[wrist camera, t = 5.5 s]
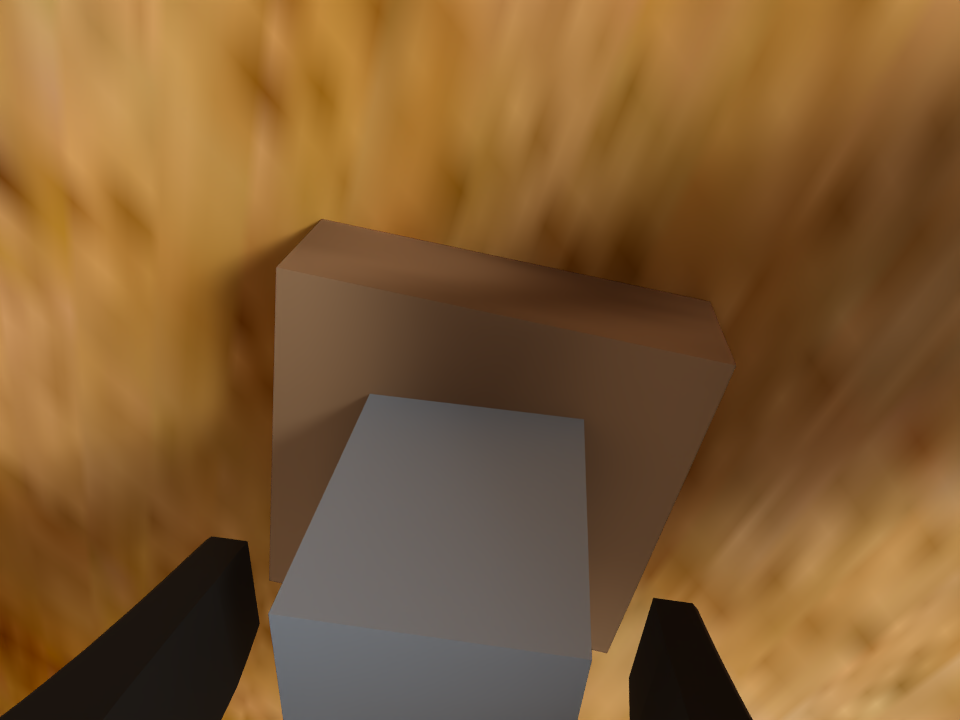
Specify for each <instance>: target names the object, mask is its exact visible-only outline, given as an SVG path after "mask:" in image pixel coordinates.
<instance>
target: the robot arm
mask: <svg viewBox="0 0 960 720" xmlns="http://www.w3.org/2000/svg"><path fill="white" fill-rule="evenodd" d="M259 624H260V623H259V616H258V609H257V603H256V596H255V589H254V582H253V575H252V569H251V562H250V555H249V548H248V541H241V540H233V539H226V538H219V537H210V538H209V539H207V540H206V541H205V542H204V543H203V544H202V545H200V546H199V547H198V548H197V549H196V550H195V551H194V552H193V553H192V554H191V555H190V556H189V557H187V558H186V559H185V560H184V561H183V562H182V563H181V564H180V565H179V566H178V567H177V568H176V569H175V570H174V571H172V572H171V573H170V574H169V575H168V576H167V577H166V578H165V579H164V580H163V581H162V582H161V583H159V584H158V585H157V586H156V587H155V588H154V589H153V590H152V591H151V592H150V593H149V594H147V595H146V596H145V597H144V598H143V599H142V600H141V601H140V602H139V603H138V604H136V605H135V606H134V607H133V608H132V609H131V610H130V611H129V612H127V613H126V614H125V615H124V616H123V617H122V618H121V619H119V620H118V621H117V622H116V623H115V624H114V625H113V626H111V627H110V628H109V629H108V630H107V631H106V632H105V633H103V634H102V635H101V636H100V637H99V638H98V639H97V640H95V641H94V642H93V643H92V644H91V645H90V646H88V647H87V648H86V649H85V650H84V651H82V652H81V653H80V654H79V655H78V656H76V657H75V658H74V659H73V660H72V661H70V662H69V663H68V664H67V665H65V666H64V667H63V668H62V669H60V670H59V671H58V672H57V673H55V674H54V675H53V676H52V677H51V678H49V679H48V680H47V681H46V682H44V683H43V684H42V685H41V686H39V687H38V688H37V689H36V690H35V691H33V692H32V693H31V694H30V695H28V696H27V697H26V698H24V699H23V700H22V701H21V702H19V703H18V704H17V705H15V706H14V707H13V708H11V709H10V710H9V711H8V712H6V713H5V714H4V715H2V716H1V717H0V720H221V719H222V717H223V715H224V713H225V711H226V709H227V707H228V705H229V703H230V701H231V698H232V696H233V694H234V692H235V690H236V688H237V686H238V683H239V680H240V678H241V675H242V672H243V669H244V667H245V664H246V661H247V659H248V656H249V653H250V650H251V647H252V644H253V641H254V639H255V636H256V633H257V630H258V627H259ZM629 706H630V720H753V719H752V718H751V716H750V714H749V712H748V710H747V708H746V707H745V705H744V703H743V701H742V699H741V697H740V695H739V693H738V692H737V690H736V688H735V686H734V684H733V682H732V680H731V678H730V676H729V674H728V672H727V670H726V668H725V666H724V664H723V662H722V660H721V658H720V656H719V654H718V652H717V650H716V648H715V646H714V644H713V642H712V639H711V637H710V635H709V633H708V631H707V629H706V627H705V625H704V622H703V620H702V618H701V616H700V614H699V611H698V609H697V608H696V607H695V606H694V605H693V603H686V602H679V601H672V600H665V599H657V598H653V601H652V604H651V607H650V611H649V614H648V617H647V620H646V624H645V627H644V630H643V634H642V637H641V640H640V643H639V647H638V650H637V653H636V656H635V660H634V663H633V666H632V670H631V673H630V676H629Z"/></svg>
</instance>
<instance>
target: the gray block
mask: <svg viewBox="0 0 960 720" xmlns="http://www.w3.org/2000/svg"><path fill="white" fill-rule="evenodd" d="M268 615H269V622H270V629H271V636H272V643H273V650H274V658H275V665H276V672H277V679H278V686H279V693H280V700H281V707H282V714H283V720H578V715H579V711H580V707H581V703H582V699H583V695H584V690H585V686H586V682H587V678H588V674H589V670H590V666H591V661H592V650H591V619H590V589H589V558H588V528H587V497H586V467H585V436H584V419H577V418H568V417H560V416H552V415H543V414H535V413H526V412H518V411H510V410H501V409H493V408H485V407H476V406H468V405H460V404H451V403H443V402H434V401H426V400H418V399H409V398H401V397H393V396H384V395H376V394H369V397H368V399H367V401H366V403H365V405H364V407H363V410H362V412H361V414H360V416H359V418H358V420H357V423H356V425H355V427H354V429H353V431H352V434H351V436H350V438H349V440H348V442H347V444H346V447H345V449H344V451H343V453H342V455H341V457H340V460H339V462H338V464H337V466H336V468H335V470H334V473H333V475H332V477H331V479H330V481H329V483H328V486H327V488H326V490H325V492H324V494H323V496H322V499H321V501H320V503H319V505H318V507H317V509H316V512H315V514H314V516H313V518H312V520H311V522H310V525H309V527H308V529H307V531H306V533H305V535H304V538H303V540H302V542H301V544H300V546H299V549H298V551H297V553H296V555H295V557H294V559H293V562H292V564H291V566H290V568H289V570H288V572H287V575H286V577H285V579H284V581H283V583H282V585H281V588H280V590H279V592H278V594H277V596H276V598H275V601H274V603H273V605H272V607H271V609H270V611H269V614H268Z"/></svg>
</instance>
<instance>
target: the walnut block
mask: <svg viewBox="0 0 960 720" xmlns="http://www.w3.org/2000/svg"><path fill="white" fill-rule="evenodd" d="M735 367H736V364H735V361H734V359H733V356H732V354H731V352H730V349H729V347H728V344H727V342H726V339H725V337H724V335H723V332H722V330H721V327H720V325H719V322H718V320H717V318H716V315H715V313H714V310H713V308H712V305H711V303H710V302H709V301H705V300H700V299H695V298H691V297H686V296H681V295H676V294H672V293H667V292H662V291H658V290H653V289H648V288H644V287H639V286H634V285H630V284H625V283H620V282H615V281H611V280H606V279H601V278H597V277H592V276H587V275H583V274H578V273H573V272H568V271H564V270H559V269H554V268H550V267H545V266H540V265H536V264H531V263H526V262H521V261H517V260H512V259H507V258H503V257H498V256H493V255H489V254H484V253H479V252H475V251H470V250H465V249H460V248H456V247H451V246H446V245H442V244H437V243H432V242H428V241H423V240H418V239H413V238H409V237H404V236H399V235H395V234H390V233H385V232H381V231H376V230H371V229H366V228H362V227H357V226H352V225H348V224H343V223H338V222H334V221H329V220H324V219H321V220H320V222H319V223H318V224H317V225H316V226H315V227H314V228H313V229H312V230H311V231H310V232H309V233H308V234H307V235H306V236H305V237H304V238H303V240H302V241H301V242H300V243H299V244H298V245H297V246H296V247H295V248H294V249H293V250H292V251H291V252H290V253H289V254H288V255H287V256H286V258H285V259H284V260H283V261H282V262H281V263H280V264H279V265H278V266H277V267H276V300H275V345H274V390H273V435H272V480H271V525H270V570H269V581H274V582H279V583H283V581H284V579H285V577H286V575H287V572H288V570H289V568H290V566H291V564H292V562H293V559H294V557H295V555H296V553H297V551H298V549H299V546H300V544H301V542H302V540H303V538H304V535H305V533H306V531H307V529H308V527H309V525H310V522H311V520H312V518H313V516H314V514H315V512H316V509H317V507H318V505H319V503H320V501H321V499H322V496H323V494H324V492H325V490H326V488H327V486H328V483H329V481H330V479H331V477H332V475H333V473H334V470H335V468H336V466H337V464H338V462H339V460H340V457H341V455H342V453H343V451H344V449H345V447H346V444H347V442H348V440H349V438H350V436H351V434H352V431H353V429H354V427H355V425H356V423H357V420H358V418H359V416H360V414H361V412H362V410H363V407H364V405H365V403H366V401H367V399H368V397H369V394H376V395H384V396H393V397H401V398H409V399H418V400H426V401H434V402H443V403H451V404H460V405H468V406H476V407H485V408H493V409H501V410H510V411H518V412H526V413H535V414H543V415H552V416H560V417H568V418H577V419H584V436H585V467H586V497H587V528H588V558H589V589H590V619H591V650H595V651H599V652H604V653H607V652H608V650H609V648H610V646H611V643H612V641H613V639H614V637H615V635H616V632H617V630H618V628H619V626H620V623H621V621H622V619H623V617H624V614H625V612H626V610H627V608H628V606H629V603H630V601H631V599H632V597H633V594H634V592H635V590H636V588H637V586H638V583H639V581H640V579H641V577H642V574H643V572H644V570H645V568H646V565H647V563H648V561H649V559H650V557H651V554H652V552H653V550H654V548H655V545H656V543H657V541H658V539H659V536H660V534H661V532H662V530H663V528H664V525H665V523H666V521H667V519H668V516H669V514H670V512H671V510H672V507H673V505H674V503H675V501H676V499H677V496H678V494H679V492H680V490H681V487H682V485H683V483H684V481H685V479H686V476H687V474H688V472H689V470H690V467H691V465H692V463H693V461H694V458H695V456H696V454H697V452H698V450H699V447H700V445H701V443H702V441H703V438H704V436H705V434H706V432H707V429H708V427H709V425H710V423H711V421H712V418H713V416H714V414H715V412H716V409H717V407H718V405H719V403H720V400H721V398H722V396H723V394H724V392H725V389H726V387H727V385H728V383H729V380H730V378H731V376H732V374H733V372H734V369H735Z"/></svg>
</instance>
